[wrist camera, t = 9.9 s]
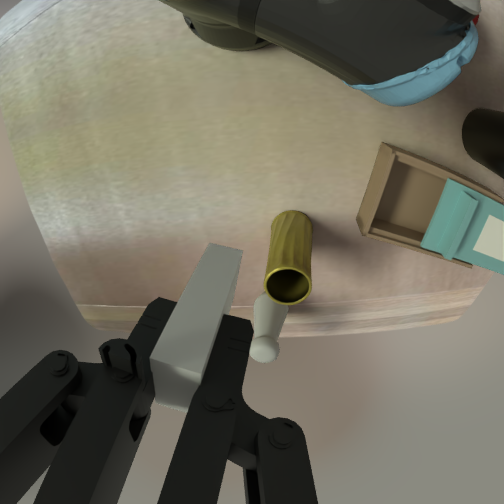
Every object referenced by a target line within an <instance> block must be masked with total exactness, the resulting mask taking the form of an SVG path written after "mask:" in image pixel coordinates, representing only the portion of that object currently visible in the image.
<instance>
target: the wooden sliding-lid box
mask: <svg viewBox="0 0 504 504" xmlns="http://www.w3.org/2000/svg"><path fill="white" fill-rule="evenodd" d="M448 178H450V179H452V180H454V181H456V182H459V183H461V184H463V185H465V186H467V187H469V188H471V189H473V190H475V191H477V192H479V193H481V194H483V195H485V196H487V197H489V198H491V199H493V200H495V201H497V202H502V203H503V201H504V200H503V199H502V198H501V197H499V196H498V195H497V194H495V193H494V192H492V191H491V190H490V189H488V188H487V187H485V186H483V185H481V184H479V183H477V182H475V181H473V180H471V179H469V178H467V177H465V176H463V175H461V174H459V173H457V172H454V171H452V170H450V169H448V168H446V167H443V166H441V165H439V164H437V163H434V162H432V161H430V160H427V159H425V158H422V157H420V156H417V155H415V154H412V153H410V152H407V151H405V150H402V149H400V148H397V147H394V146H391V145H389V144H386V143H383V142H381V145H380V149H379V152H378V155H377V158H376V162H375V165H374V168H373V171H372V174H371V177H370V180H369V183H368V186H367V189H366V192H365V195H364V198H363V201H362V204H361V207H360V209H359V212H358V215H357V218H356V221H357V223H358V226H359V228H360V231H361V234H362V236H366V237H369V238H373V239H376V240H380V241H383V242H387V243H390V244H394V245H397V246H401V247H404V248H407V249H411V250H414V251H417V252H421V253H424V254H427V255H431V256H434V257H437V258H440V259H443V260H447V261H450V262H453V263H456V264H459V265H462V266H465V267H468V268H472V267H473V265H472V264H471V263H469V262H466V261H463V260H460V259H457V258H454V257H453V258H452V260H448V259H445V258H444V257H443V255H442V254H441V253H438V252H435V251H432V250H429V249H426V248H422V247H421V245H420V244H421V242H422V240H423V237H424V235H425V233H426V231H427V228H428V226H429V224H430V222H431V219H432V217H433V215H434V212H435V210H436V207H437V205H438V202H439V200H440V197H441V195H442V192H443V190H444V187H445V184H446V182H447V179H448Z"/></svg>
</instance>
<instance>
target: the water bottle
mask: <svg viewBox="0 0 504 504" xmlns="http://www.w3.org/2000/svg"><path fill="white" fill-rule="evenodd" d="M462 140H463V144H464V147H465V149H466V151H467V153H468V154H469V156H470V157H471V158H472V159H474V160H475V161H477V162H479V163H480V164H482V165H483V166H485V167H487V168H488V169H490V170H491V171H493V172H494V173H496V174H497V175H499V176H500V177H502V178H503V179H504V112H499V111H494V110H489V109H483V108H479V109H475V110H473V111H472V112H470V113H469V114H468V116H467V117H466V119H465V121H464V124H463V128H462Z"/></svg>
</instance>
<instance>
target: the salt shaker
mask: <svg viewBox="0 0 504 504" xmlns="http://www.w3.org/2000/svg"><path fill="white" fill-rule="evenodd" d="M288 310H289V309H288V305H282V304H278V303H276V302H274V301H273V300H271V299H270V298H269V297H268V295H267V294H266V292H265V291H264V292H263V293H262V294H261V295H260V296H259V297H258V298H257V299H256V301H255V303H254V335H255V339H253V340H252V342H251V347H250V355H251V357H252V358H254V359H255V360H256V361H258V362H261V363H268V362H272V361H274V360H275V359H277V357H278V354H279V350H280V349H279V344H278V342H277V340H278V337H279V334H280V332H281V329H282V326H283V323H284V321H285V318H286V315H287V313H288Z"/></svg>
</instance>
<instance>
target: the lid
mask: <svg viewBox="0 0 504 504" xmlns="http://www.w3.org/2000/svg"><path fill="white" fill-rule="evenodd" d="M420 245H421V247H422V248H426V249H429V250H432V251H435V252H438V253H441V254H442V255H443V257H444V258H445V259H448V260H452V258H453V257H454V258H457V259H460V260H463V261H466V262H469V263H472V264H475V265H477V266H480V267H483V268H486V269H489V270H492V271H495V272H497V273H500V274H503V275H504V205H503V204H501V203H499V202H497V201H495V200H493V199H491V198H489V197H487V196H485V195H483V194H481V193H479V192H477V191H475V190H473V189H471V188H469V187H467V186H465V185H463V184H461V183H459V182H456V181H454V180H452V179H450V178H448V179H447V182H446V184H445V187H444V190H443V192H442V195H441V197H440V200H439V202H438V205H437V207H436V210H435V212H434V215H433V217H432V219H431V222H430V224H429V226H428V228H427V231H426V233H425V235H424V237H423V240H422V242H421V244H420Z"/></svg>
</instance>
